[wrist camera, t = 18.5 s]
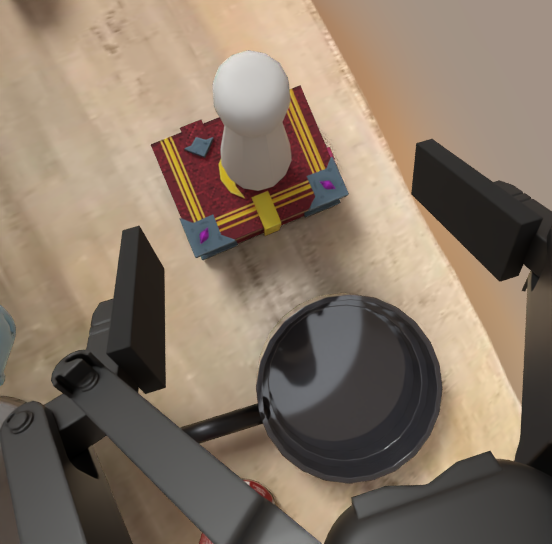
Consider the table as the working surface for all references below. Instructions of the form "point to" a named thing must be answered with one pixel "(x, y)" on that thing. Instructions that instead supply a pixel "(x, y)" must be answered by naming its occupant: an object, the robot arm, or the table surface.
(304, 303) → the pan
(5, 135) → the table surface
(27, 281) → the table surface
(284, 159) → the salt shaker
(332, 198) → the decorative book
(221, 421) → the pan handle
